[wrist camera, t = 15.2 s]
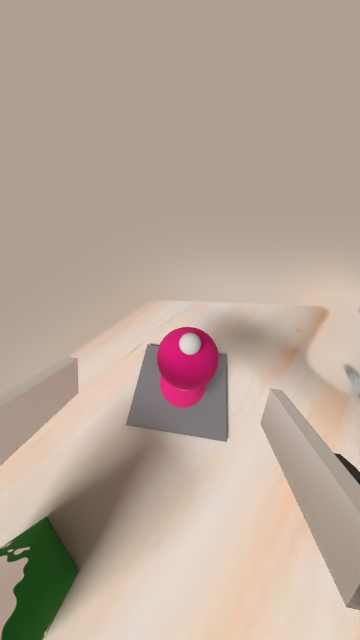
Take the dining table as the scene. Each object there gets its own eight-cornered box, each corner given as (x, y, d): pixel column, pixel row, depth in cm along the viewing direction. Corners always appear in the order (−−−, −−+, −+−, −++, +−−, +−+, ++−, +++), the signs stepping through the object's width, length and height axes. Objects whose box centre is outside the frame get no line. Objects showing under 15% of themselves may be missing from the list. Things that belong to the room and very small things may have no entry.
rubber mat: (225, 357, 34) (226, 355, 33) (225, 441, 26) (226, 441, 26) (148, 346, 35) (147, 344, 34) (127, 424, 27) (126, 424, 27)
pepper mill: (163, 366, 32) (149, 300, 15) (201, 367, 32) (231, 303, 15) (159, 409, 28) (135, 387, 11) (203, 410, 28) (246, 391, 11)
